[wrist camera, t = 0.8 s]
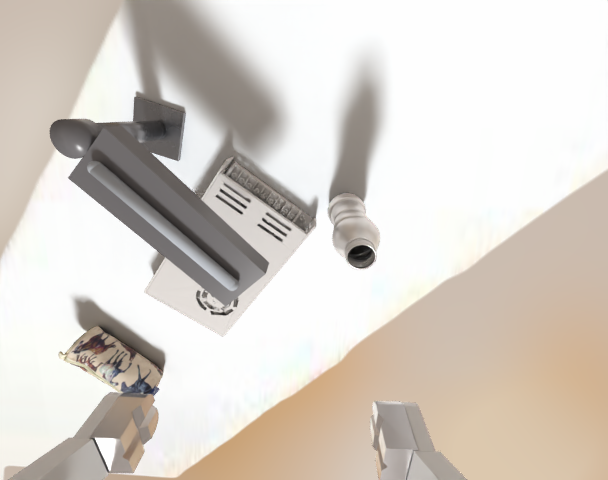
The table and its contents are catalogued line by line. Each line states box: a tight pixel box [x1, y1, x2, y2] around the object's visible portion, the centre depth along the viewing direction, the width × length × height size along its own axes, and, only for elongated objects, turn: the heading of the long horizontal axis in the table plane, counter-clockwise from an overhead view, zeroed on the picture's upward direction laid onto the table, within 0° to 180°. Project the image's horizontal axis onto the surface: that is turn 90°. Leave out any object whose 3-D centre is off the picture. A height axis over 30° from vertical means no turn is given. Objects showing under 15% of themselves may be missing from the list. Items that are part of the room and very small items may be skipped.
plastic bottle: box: [328, 193, 380, 269], centre depth 43 cm, size 6×7×20 cm
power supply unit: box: [144, 156, 316, 336], centre depth 55 cm, size 19×33×5 cm, turn 143°
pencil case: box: [59, 326, 163, 396], centre depth 66 cm, size 22×8×10 cm, turn 41°
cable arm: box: [50, 119, 269, 306], centre depth 34 cm, size 28×8×5 cm, turn 43°
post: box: [96, 97, 186, 161], centre depth 41 cm, size 8×8×16 cm
